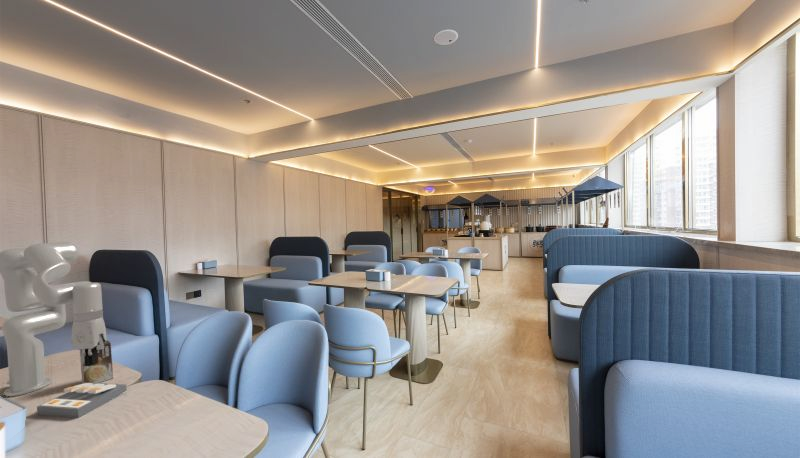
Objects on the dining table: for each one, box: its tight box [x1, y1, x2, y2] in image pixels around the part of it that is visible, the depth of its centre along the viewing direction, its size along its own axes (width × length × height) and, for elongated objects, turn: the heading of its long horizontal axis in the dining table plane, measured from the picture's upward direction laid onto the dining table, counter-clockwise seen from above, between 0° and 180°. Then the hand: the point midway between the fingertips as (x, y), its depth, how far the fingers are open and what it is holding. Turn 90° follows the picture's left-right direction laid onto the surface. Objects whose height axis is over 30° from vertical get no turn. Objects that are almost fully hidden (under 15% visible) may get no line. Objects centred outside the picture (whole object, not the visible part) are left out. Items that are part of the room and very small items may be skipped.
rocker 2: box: [76, 384, 104, 393], centre depth 116 cm, size 4×7×1 cm, turn 172°
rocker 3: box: [88, 383, 116, 394], centre depth 115 cm, size 4×7×1 cm, turn 171°
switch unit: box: [36, 382, 128, 419], centre depth 113 cm, size 18×16×4 cm
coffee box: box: [79, 340, 114, 384], centre depth 130 cm, size 9×6×16 cm
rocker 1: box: [63, 383, 93, 393], centre depth 116 cm, size 4×7×1 cm, turn 172°
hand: (91, 364), depth 111 cm, fingers closed
